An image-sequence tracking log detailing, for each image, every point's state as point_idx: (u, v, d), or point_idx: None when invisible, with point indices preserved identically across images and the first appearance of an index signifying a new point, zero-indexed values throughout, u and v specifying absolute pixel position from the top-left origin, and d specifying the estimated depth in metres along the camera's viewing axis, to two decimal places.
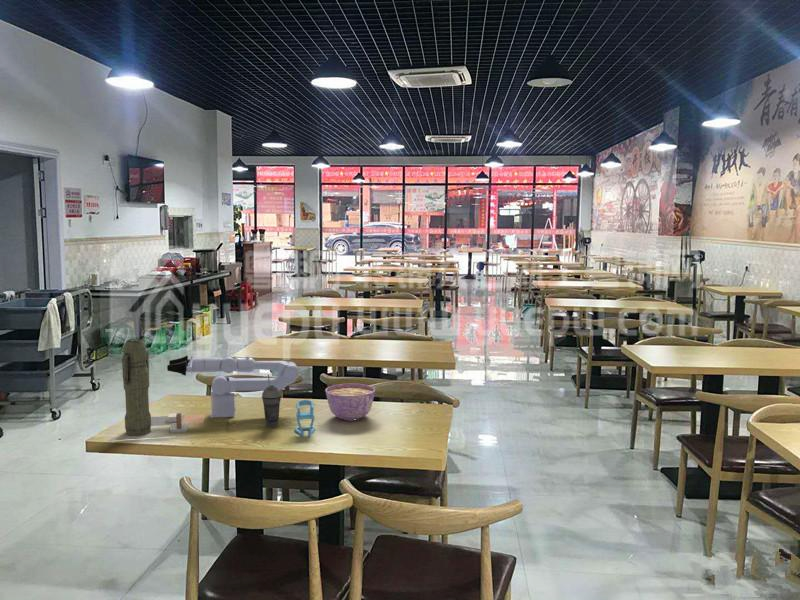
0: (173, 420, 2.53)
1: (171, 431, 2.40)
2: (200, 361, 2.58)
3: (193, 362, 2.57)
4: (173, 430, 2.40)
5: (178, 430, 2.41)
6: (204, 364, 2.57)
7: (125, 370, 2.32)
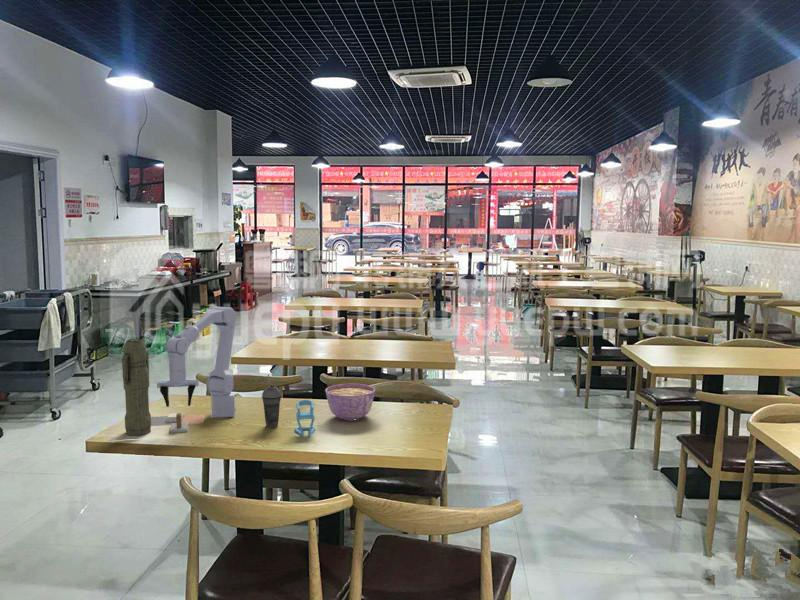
0: (173, 420, 2.53)
1: (171, 431, 2.40)
2: (182, 374, 2.41)
3: (183, 381, 2.41)
4: (173, 430, 2.40)
5: (178, 430, 2.41)
6: (184, 369, 2.42)
7: (125, 370, 2.32)
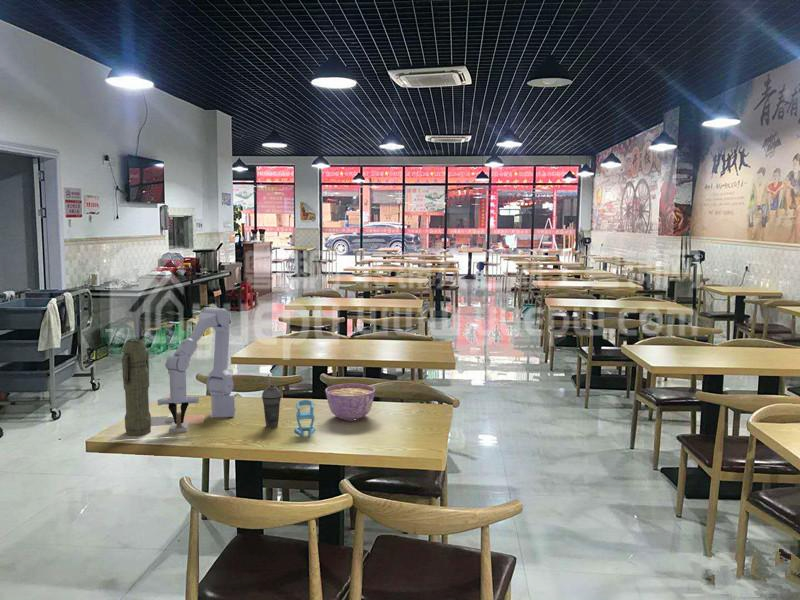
0: (173, 420, 2.53)
1: (171, 430, 2.40)
2: (183, 391, 2.41)
3: (184, 398, 2.42)
4: (173, 429, 2.40)
5: (178, 429, 2.40)
6: (185, 387, 2.42)
7: (125, 370, 2.32)
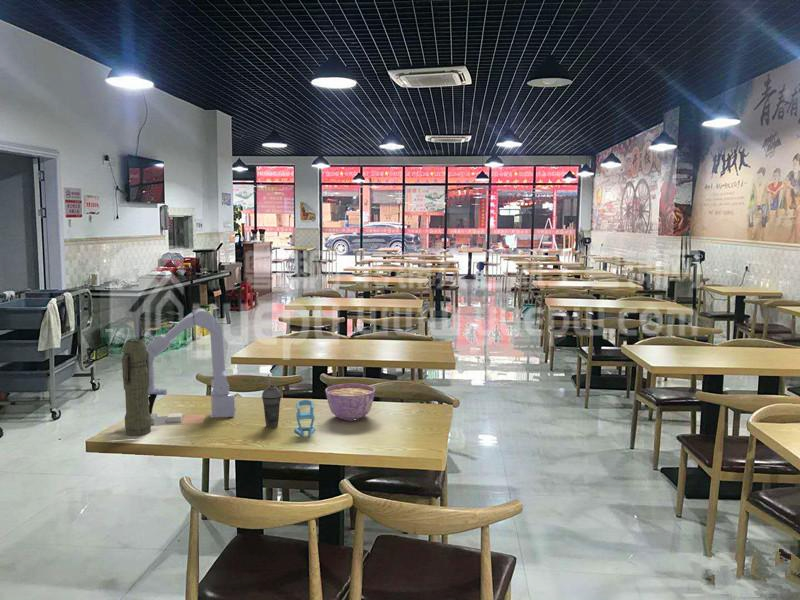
0: (173, 420, 2.53)
1: None
2: (151, 383, 2.50)
3: (152, 390, 2.51)
4: None
5: None
6: (153, 379, 2.51)
7: (125, 370, 2.32)
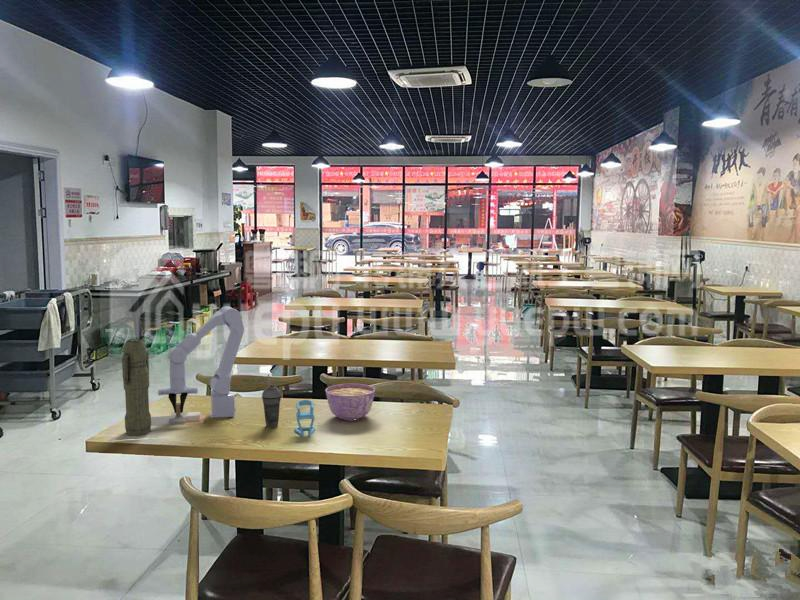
0: (192, 419, 2.55)
1: (171, 420, 2.51)
2: (182, 382, 2.53)
3: (183, 388, 2.53)
4: (173, 419, 2.51)
5: (177, 419, 2.51)
6: (184, 377, 2.54)
7: (125, 370, 2.32)
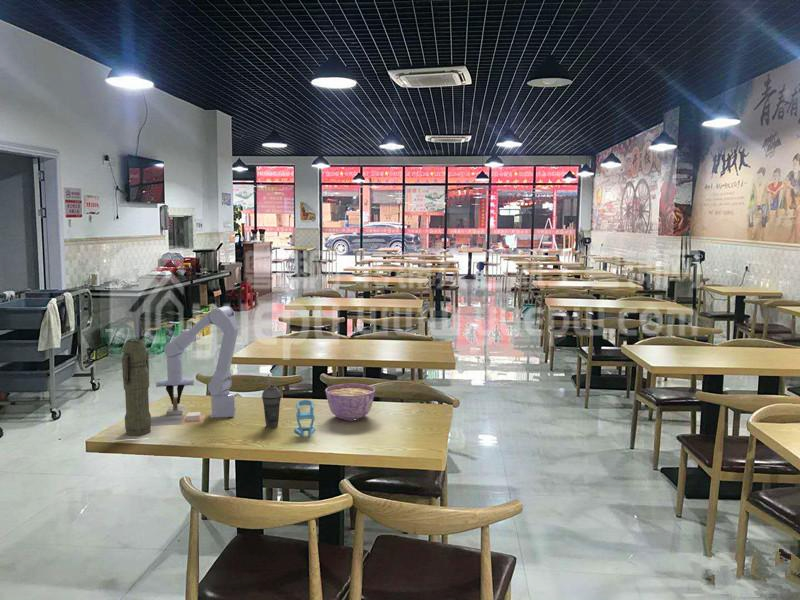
0: (192, 419, 2.55)
1: (168, 413, 2.62)
2: (179, 374, 2.64)
3: (180, 381, 2.64)
4: (170, 412, 2.62)
5: (174, 412, 2.62)
6: (181, 370, 2.65)
7: (125, 370, 2.32)
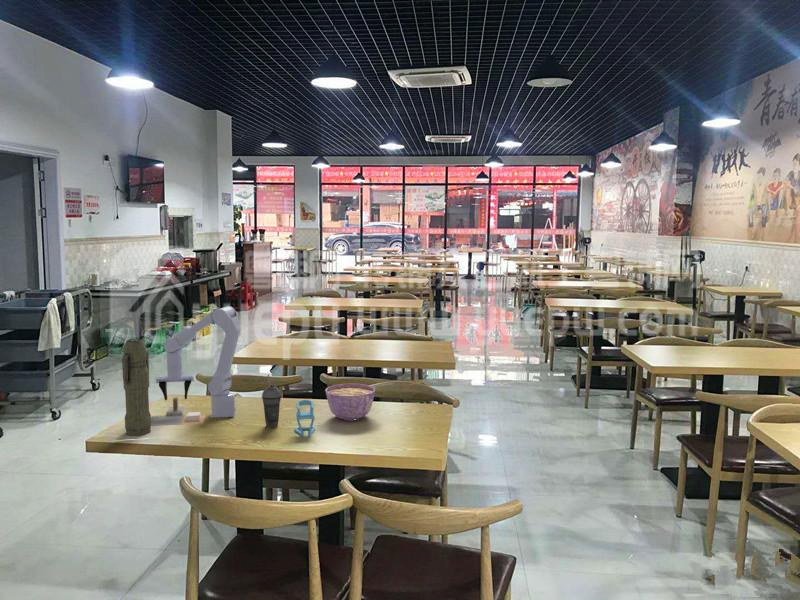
0: (192, 419, 2.55)
1: (168, 413, 2.62)
2: (179, 370, 2.63)
3: (180, 376, 2.64)
4: (170, 413, 2.62)
5: (175, 413, 2.62)
6: (181, 366, 2.65)
7: (125, 370, 2.32)
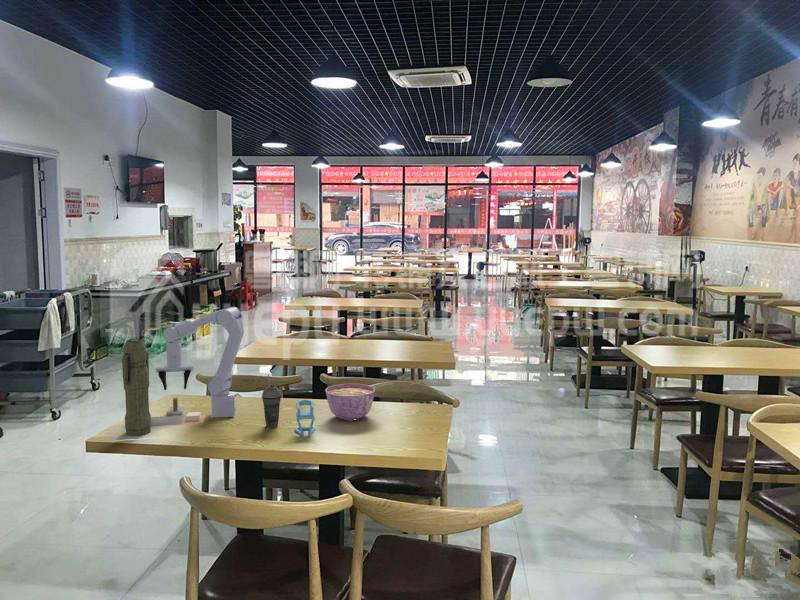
0: (192, 419, 2.55)
1: (168, 414, 2.62)
2: (179, 360, 2.63)
3: (180, 366, 2.64)
4: (170, 413, 2.62)
5: (175, 413, 2.62)
6: (181, 356, 2.64)
7: (125, 370, 2.32)
